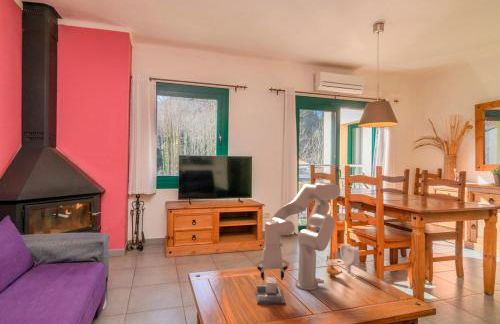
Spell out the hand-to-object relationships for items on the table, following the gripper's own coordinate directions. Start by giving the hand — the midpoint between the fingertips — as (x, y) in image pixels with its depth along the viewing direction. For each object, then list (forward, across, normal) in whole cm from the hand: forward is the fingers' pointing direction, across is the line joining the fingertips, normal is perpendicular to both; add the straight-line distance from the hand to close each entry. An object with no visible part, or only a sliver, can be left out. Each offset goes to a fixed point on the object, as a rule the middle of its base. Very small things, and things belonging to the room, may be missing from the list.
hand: (272, 279), depth 149 cm
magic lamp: (+12, -40, -25) cm, 48 cm away
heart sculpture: (+12, -51, -32) cm, 62 cm away
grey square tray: (+9, +1, +1) cm, 9 cm away
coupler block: (+8, +1, +1) cm, 8 cm away
